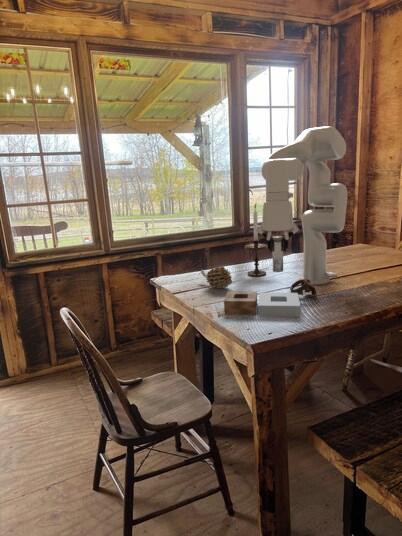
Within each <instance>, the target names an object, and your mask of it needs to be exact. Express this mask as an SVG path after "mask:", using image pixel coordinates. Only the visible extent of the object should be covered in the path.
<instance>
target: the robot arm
mask: <svg viewBox="0 0 402 536" xmlns="http://www.w3.org/2000/svg"><path fill="white" fill-rule="evenodd" d="M346 151H347V143H346V141H345V139H344V137H343V136H342V134H341V133H340V132H339V130H338V129H337V128H335V127H334V126H329V125H328V126H319V127H312V128H308V129H305V130H303V131H302V132H301V134H299V135H298V136H297V138H296V139H295V140H294V141H293V142H292V143H289V145H286V146H284V147H282V148H280V149H277V150H276V151H274V152H272V153H271V154H270V155H269V156H268V157H267V158H266V159H265V161H264V162H263V165H262V168H261V176H262V178H263V180H265V201H263V205H262V206H263V207H262V222H261V223H260V225H259V226H258V229H257V232H258V234H260V235H261V236H262V237H264V238H265V240H267V245H268V248H267V249H268V250H269V252H270V253H271V252H273V250H272V240H271V237H272V233H273V232H274V233H275V232H283V237H284V240H283V253H284V252H287V249H289V239H291V237H292V236H293V235H294V234H296V233H297V232H299V231H300V230H299V227H298V225H297V224H296V223H295V222H294V216H293V214H294V213H293V206H292V205H293V204H292V201H291V200H290V198H291V199H292V198H294V193H292V192H290V191H289V189H290V188H289V187H290V182H295V181H298V180H300V179H301V178H302V176H303V175H304V171H305V166H304V163H306V166H307V168H308V171H309V180H308V190H307V202H308V204H309V206H312V207H317V208H318V207H320V209H317V208H316V209H309V210H305V211H304V212H303V214H302V216H301V227H302V233H303V234H302V235H303V276H300V278H299V280H301V279H308V280H309V281H310V283H312V284H313V286H318V285H325V284H328V283H330V278H335V279H336V278H338V272H333V271H331V272H328V270H327V245H328V244H327V240H326V237H325V236H324V234H323V233H331V234H332V233H334V234H335V233H341V232H342V231H343V230H344V228H345V224H346V215H347V205H348V190H347V186H346V185H345V184H343V183H337V182H336V183H335V182H334V183H331V173H332V172H331V170H330V168H329V167H328V165H326V163H325V161H335V160H336V161H337V160H341V159H342V158H344V156H345V155H346ZM321 207H325V208H326V207H331V208H333V209H325V208H324V209H321Z"/></svg>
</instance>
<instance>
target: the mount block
mask: <svg viewBox="0 0 402 536" xmlns="http://www.w3.org/2000/svg"><path fill="white" fill-rule="evenodd" d="M223 307H224V309H223V310H224V315H236V316H237V315H240V316H241V315H244V316H245V315H248V316H249V315H250V316H251V315H252V316H256V315H257V310H258V292H257V291H249V290H247V291H231V290H230V291H227V293H226V295H225V298H224V300H223Z"/></svg>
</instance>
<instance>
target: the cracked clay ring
mask: <svg viewBox="0 0 402 536" xmlns="http://www.w3.org/2000/svg"><path fill="white" fill-rule="evenodd" d="M299 285H301V286H299ZM297 286H299V287H298V288H296V287H297ZM289 290H290V293H298V296H304V293H310V292H311V296H313V297H314V298H315V300H317V299H318V294H317V293H318V292H317V290H316V288H315V285H313V284H312V283H310V281H309V280H308V279H301V280H300V279H299V280H296V281H294V282H293V284H291V286H290V288H289ZM303 292H304V293H303Z"/></svg>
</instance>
